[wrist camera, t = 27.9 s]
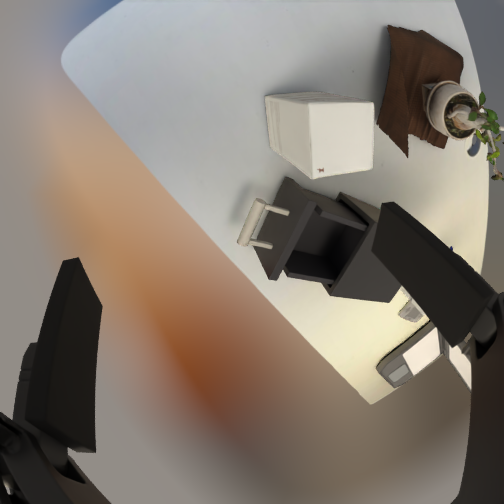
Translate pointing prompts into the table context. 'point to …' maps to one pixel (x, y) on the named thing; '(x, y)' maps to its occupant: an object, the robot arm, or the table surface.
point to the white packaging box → (321, 132)
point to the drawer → (303, 234)
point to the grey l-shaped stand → (410, 312)
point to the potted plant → (431, 96)
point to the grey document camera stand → (424, 357)
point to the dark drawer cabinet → (364, 263)
